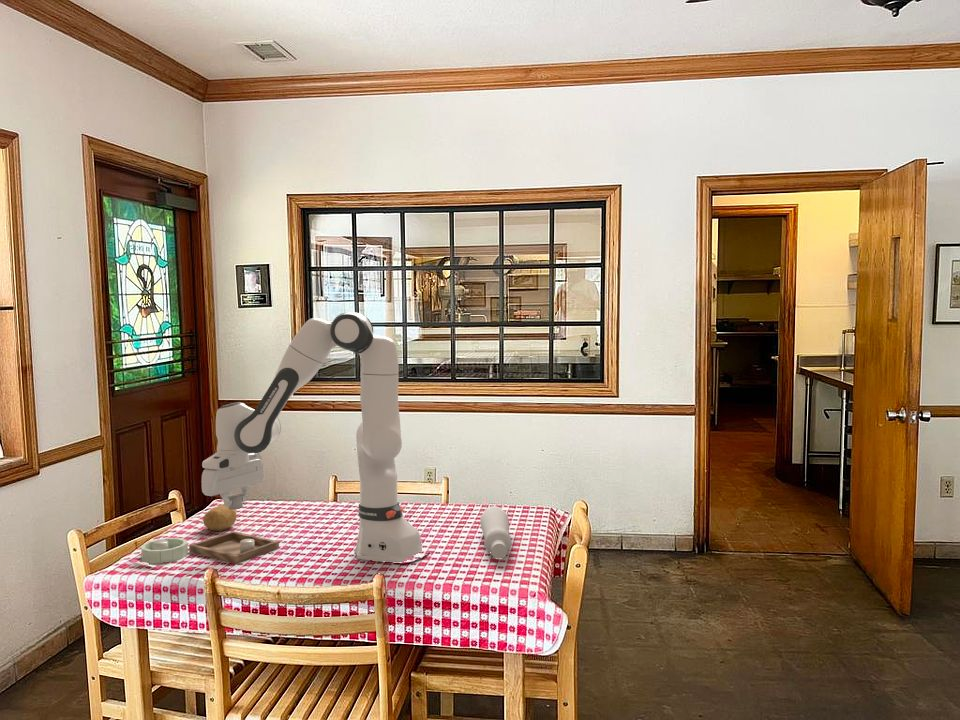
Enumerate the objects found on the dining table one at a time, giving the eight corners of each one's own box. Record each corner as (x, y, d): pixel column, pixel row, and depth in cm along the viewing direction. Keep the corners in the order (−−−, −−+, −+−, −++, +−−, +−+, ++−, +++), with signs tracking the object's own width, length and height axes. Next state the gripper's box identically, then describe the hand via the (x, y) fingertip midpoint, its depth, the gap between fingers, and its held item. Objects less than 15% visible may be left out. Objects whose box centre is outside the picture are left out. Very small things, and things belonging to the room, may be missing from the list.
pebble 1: (171, 553, 205) (171, 541, 205) (159, 557, 202) (159, 545, 201) (162, 551, 207) (162, 539, 207) (150, 555, 204) (150, 542, 203)
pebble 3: (257, 552, 207) (257, 540, 207) (246, 556, 203) (246, 543, 203) (248, 550, 209) (247, 538, 209) (237, 553, 205) (236, 541, 205)
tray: (279, 549, 211) (278, 541, 211) (235, 565, 197) (235, 556, 197) (233, 539, 221) (233, 531, 221) (189, 553, 207) (189, 545, 207)
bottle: (474, 522, 228) (476, 556, 198) (490, 499, 228) (494, 529, 198) (497, 537, 229) (503, 573, 199) (513, 514, 229) (521, 546, 199)
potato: (244, 523, 238) (243, 500, 238) (226, 536, 224) (226, 511, 224) (216, 523, 239) (215, 500, 238) (196, 535, 225) (196, 511, 224)
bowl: (196, 555, 206) (195, 542, 206) (159, 567, 195) (158, 553, 195) (170, 548, 212) (169, 535, 212) (132, 560, 202) (132, 546, 201)
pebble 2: (245, 506, 209) (245, 494, 209) (234, 510, 206) (234, 498, 205) (236, 505, 211) (235, 493, 211) (225, 508, 208) (225, 496, 208)
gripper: (253, 450, 218) (255, 494, 219) (196, 463, 200) (199, 511, 201) (267, 452, 215) (270, 496, 216) (211, 465, 197) (214, 513, 198)
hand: (235, 503), depth 208 cm, fingers closed on pebble 2, 4 cm apart
